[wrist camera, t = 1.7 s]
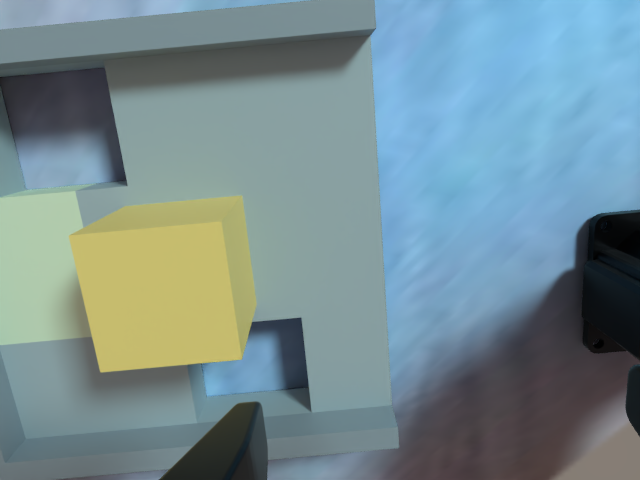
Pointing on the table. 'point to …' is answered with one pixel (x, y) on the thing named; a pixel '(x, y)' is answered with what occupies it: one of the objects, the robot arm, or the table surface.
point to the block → (167, 283)
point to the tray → (191, 184)
